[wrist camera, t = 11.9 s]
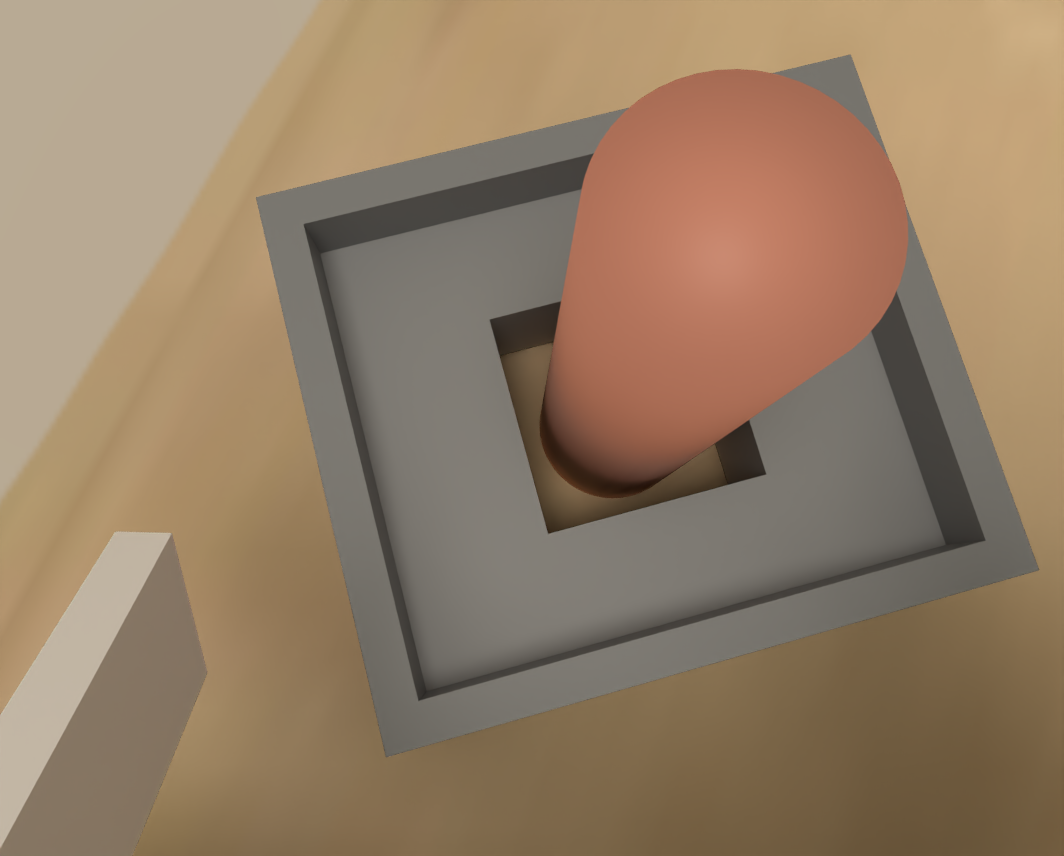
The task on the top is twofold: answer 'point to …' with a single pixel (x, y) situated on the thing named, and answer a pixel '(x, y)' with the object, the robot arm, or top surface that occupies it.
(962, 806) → the top surface
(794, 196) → the peg
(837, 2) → the top surface
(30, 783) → the robot arm
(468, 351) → the box
